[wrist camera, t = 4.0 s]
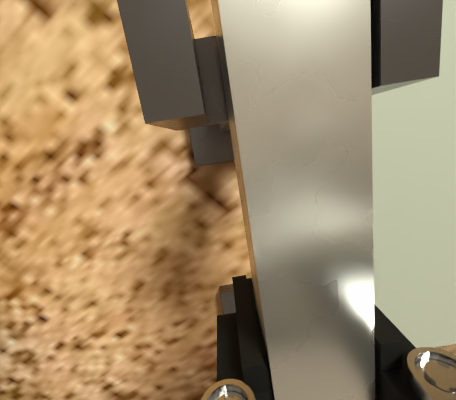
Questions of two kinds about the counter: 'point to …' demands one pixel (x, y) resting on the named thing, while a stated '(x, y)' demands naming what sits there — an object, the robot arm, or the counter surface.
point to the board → (417, 200)
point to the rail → (305, 185)
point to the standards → (212, 75)
